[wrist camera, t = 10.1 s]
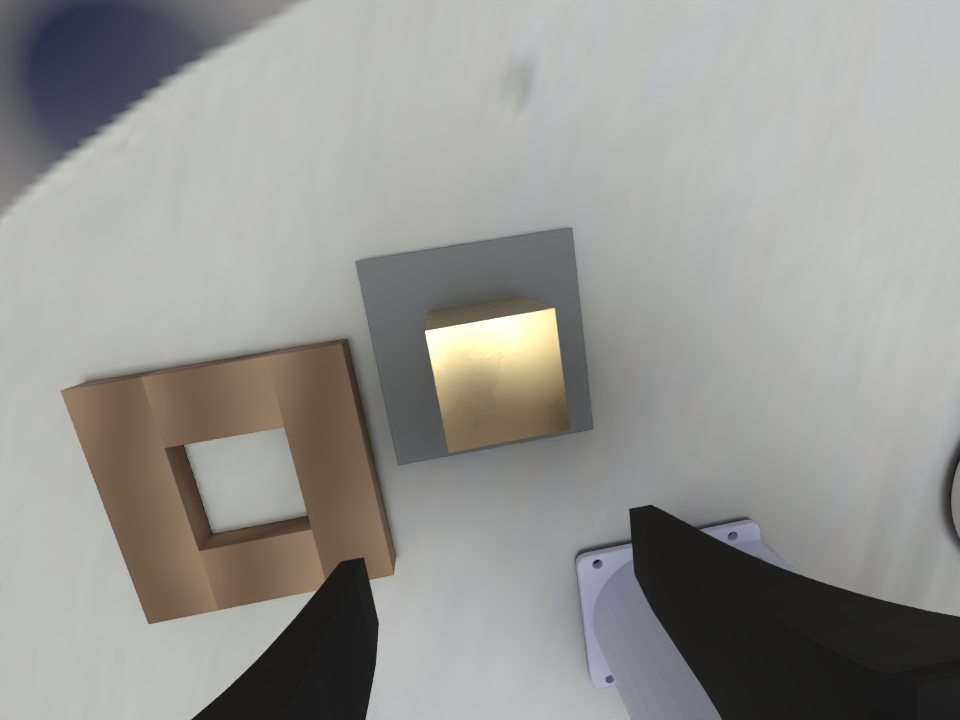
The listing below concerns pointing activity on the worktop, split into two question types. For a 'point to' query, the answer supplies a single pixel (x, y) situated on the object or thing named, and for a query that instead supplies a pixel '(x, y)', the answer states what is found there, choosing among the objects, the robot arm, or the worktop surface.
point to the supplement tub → (956, 499)
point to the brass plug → (497, 371)
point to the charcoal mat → (457, 282)
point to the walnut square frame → (173, 493)
